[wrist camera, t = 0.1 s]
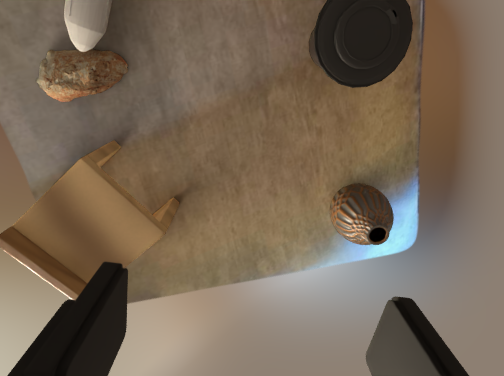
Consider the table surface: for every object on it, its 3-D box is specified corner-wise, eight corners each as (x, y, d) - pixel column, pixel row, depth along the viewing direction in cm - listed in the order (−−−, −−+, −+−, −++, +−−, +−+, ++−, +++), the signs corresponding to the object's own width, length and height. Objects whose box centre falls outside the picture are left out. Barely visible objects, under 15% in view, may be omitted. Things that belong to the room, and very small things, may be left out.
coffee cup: (384, 21, 32) (441, 2, 23) (347, 94, 35) (385, 104, 26) (317, -14, 31) (349, -49, 22) (283, 65, 34) (299, 64, 24)
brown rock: (139, 86, 35) (123, 40, 32) (131, 99, 32) (113, 50, 29) (51, 97, 35) (27, 52, 32) (36, 111, 32) (8, 62, 29)
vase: (362, 230, 42) (391, 269, 33) (316, 216, 41) (334, 253, 32) (386, 186, 39) (423, 216, 31) (337, 169, 38) (363, 197, 30)
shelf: (113, 139, 36) (69, 164, 27) (180, 203, 39) (160, 244, 30) (51, 200, 39) (-9, 241, 29) (118, 255, 42) (83, 308, 33)
